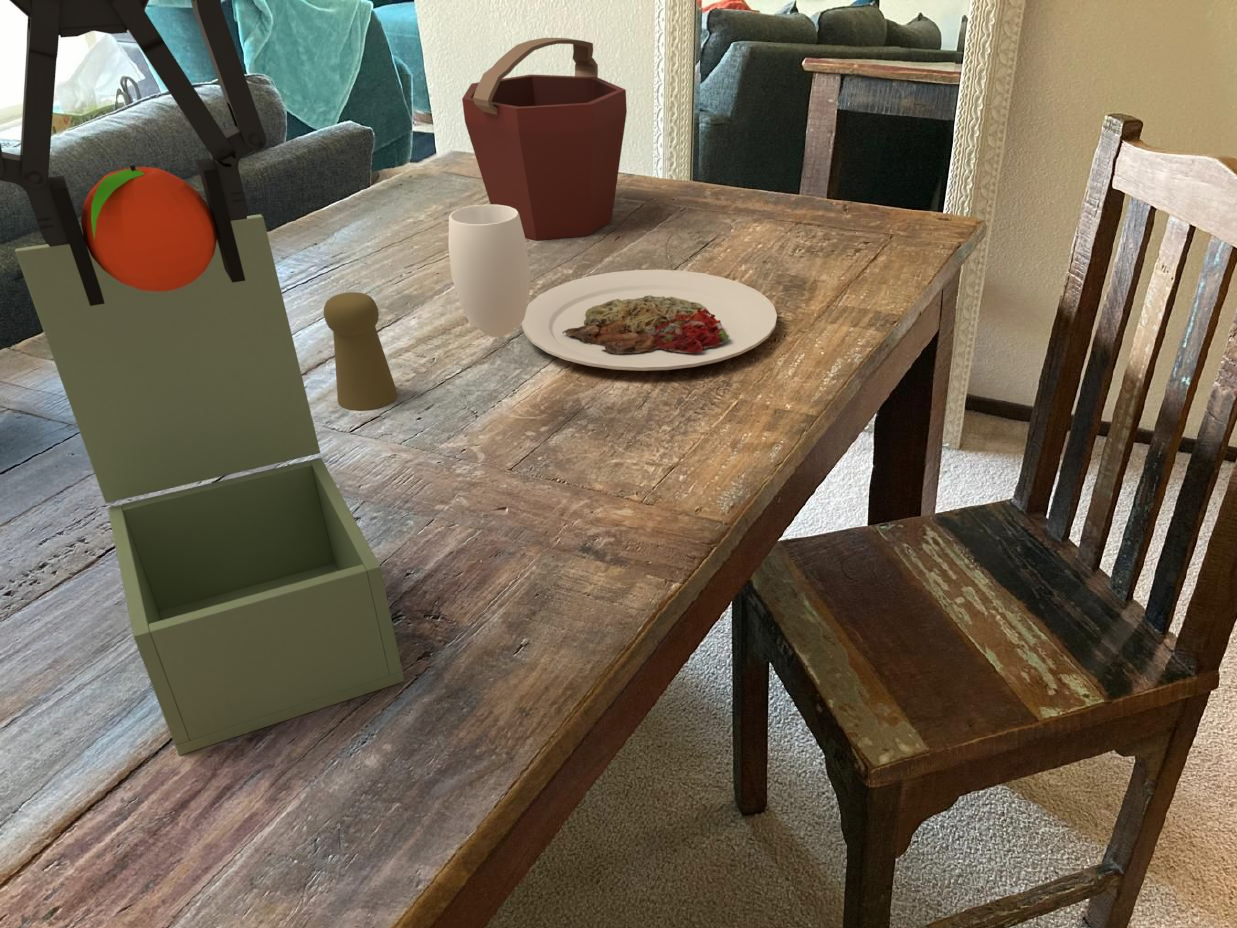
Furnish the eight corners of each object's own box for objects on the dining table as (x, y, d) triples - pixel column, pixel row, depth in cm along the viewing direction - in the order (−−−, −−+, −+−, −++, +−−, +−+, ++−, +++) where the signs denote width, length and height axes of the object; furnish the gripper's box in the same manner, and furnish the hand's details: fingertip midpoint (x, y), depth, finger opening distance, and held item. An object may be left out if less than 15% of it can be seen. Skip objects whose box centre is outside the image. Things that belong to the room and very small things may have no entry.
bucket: (580, 191, 177) (568, 21, 163) (667, 223, 163) (662, 41, 150) (446, 222, 163) (421, 40, 149) (530, 259, 150) (510, 63, 136)
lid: (263, 216, 74) (260, 214, 75) (14, 251, 68) (14, 248, 69) (320, 453, 83) (318, 449, 84) (105, 503, 77) (104, 499, 77)
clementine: (176, 321, 61) (138, 191, 57) (64, 312, 62) (19, 184, 58) (252, 272, 67) (222, 153, 63) (149, 264, 68) (114, 147, 64)
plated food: (570, 275, 145) (568, 250, 143) (794, 294, 140) (795, 268, 138) (482, 369, 120) (479, 340, 118) (750, 395, 115) (750, 366, 113)
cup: (545, 433, 108) (524, 225, 96) (470, 439, 107) (440, 228, 95) (544, 401, 114) (524, 201, 102) (473, 406, 113) (445, 204, 101)
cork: (375, 414, 111) (354, 311, 105) (325, 404, 113) (302, 303, 107) (409, 389, 116) (391, 290, 110) (361, 381, 118) (341, 282, 111)
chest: (404, 681, 77) (380, 566, 72) (178, 755, 71) (133, 636, 65) (345, 563, 89) (320, 457, 84) (147, 618, 83) (107, 507, 77)
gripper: (-240, -183, 45) (-27, 340, 58) (264, -180, 53) (352, 276, 66) (-218, -184, 50) (-28, 295, 63) (237, -181, 59) (323, 241, 71)
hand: (166, 285), depth 65 cm, fingers closed on clementine, 7 cm apart
